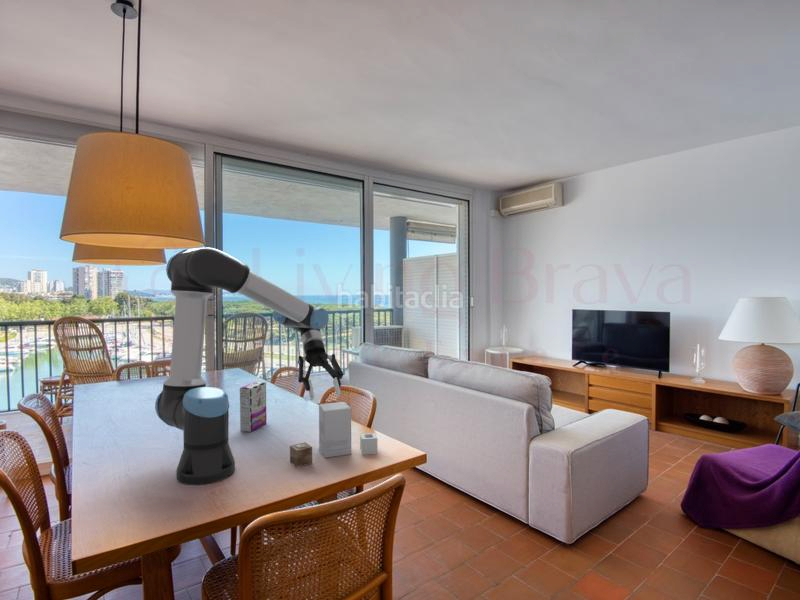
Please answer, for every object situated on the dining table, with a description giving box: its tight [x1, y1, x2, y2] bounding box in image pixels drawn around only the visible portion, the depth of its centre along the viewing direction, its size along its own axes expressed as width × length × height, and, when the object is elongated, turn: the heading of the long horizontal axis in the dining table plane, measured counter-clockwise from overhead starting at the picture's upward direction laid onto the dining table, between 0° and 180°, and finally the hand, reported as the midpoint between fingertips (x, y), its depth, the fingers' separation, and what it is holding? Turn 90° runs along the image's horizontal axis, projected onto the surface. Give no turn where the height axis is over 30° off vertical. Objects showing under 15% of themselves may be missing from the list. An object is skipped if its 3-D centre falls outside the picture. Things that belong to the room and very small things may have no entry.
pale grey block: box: [359, 432, 378, 455], centre depth 139 cm, size 5×5×5 cm
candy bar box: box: [239, 381, 267, 433], centre depth 162 cm, size 11×5×16 cm, turn 168°
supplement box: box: [318, 401, 352, 459], centre depth 138 cm, size 9×9×15 cm
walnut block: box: [289, 442, 313, 468], centre depth 129 cm, size 5×5×5 cm
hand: (325, 396), depth 147 cm, fingers open, 9 cm apart
